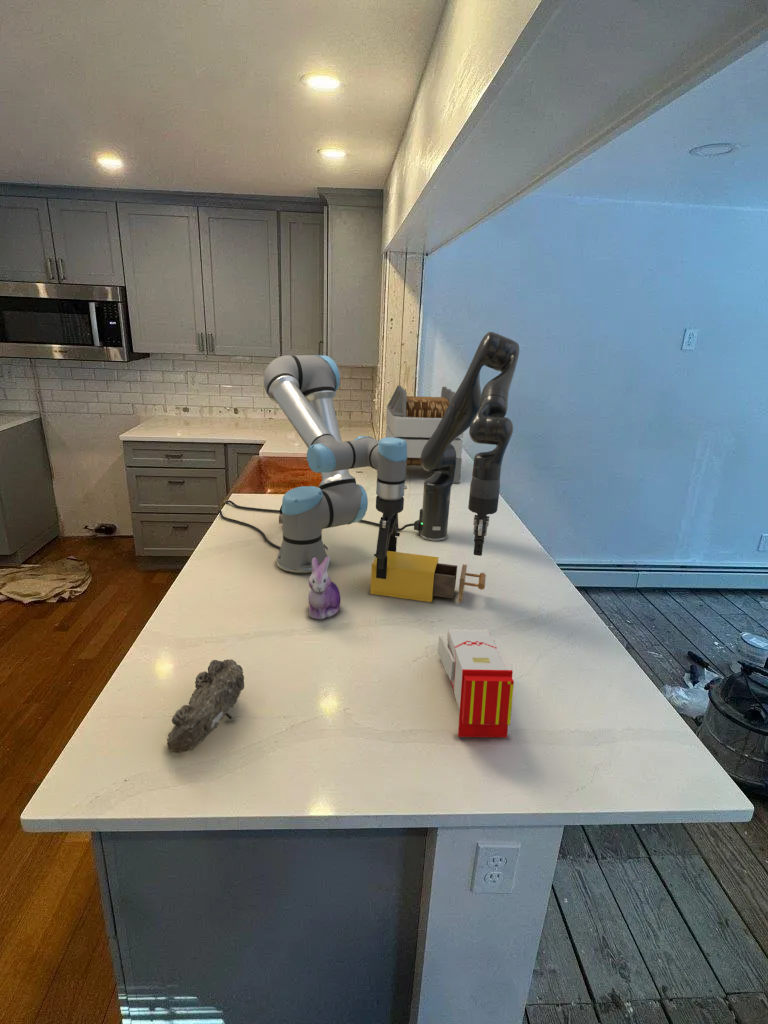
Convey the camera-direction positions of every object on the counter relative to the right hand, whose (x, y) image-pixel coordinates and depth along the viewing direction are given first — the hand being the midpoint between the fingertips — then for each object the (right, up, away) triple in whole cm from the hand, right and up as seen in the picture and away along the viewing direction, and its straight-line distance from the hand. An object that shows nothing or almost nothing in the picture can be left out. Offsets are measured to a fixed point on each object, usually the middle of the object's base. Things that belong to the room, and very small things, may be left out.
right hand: (477, 554), depth 152 cm
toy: (-7, -26, -34) cm, 43 cm away
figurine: (-41, -14, -5) cm, 44 cm away
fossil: (-58, -28, -44) cm, 78 cm away
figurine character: (-59, +7, +53) cm, 80 cm away
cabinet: (-20, -11, +8) cm, 24 cm away
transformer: (-8, +30, +123) cm, 127 cm away
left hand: (-25, -4, +7) cm, 26 cm away
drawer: (-8, -11, +6) cm, 15 cm away
